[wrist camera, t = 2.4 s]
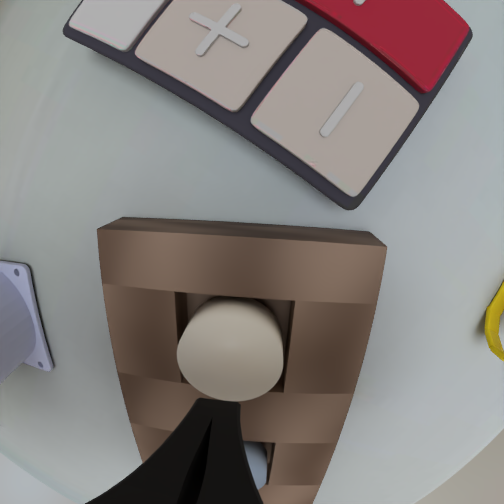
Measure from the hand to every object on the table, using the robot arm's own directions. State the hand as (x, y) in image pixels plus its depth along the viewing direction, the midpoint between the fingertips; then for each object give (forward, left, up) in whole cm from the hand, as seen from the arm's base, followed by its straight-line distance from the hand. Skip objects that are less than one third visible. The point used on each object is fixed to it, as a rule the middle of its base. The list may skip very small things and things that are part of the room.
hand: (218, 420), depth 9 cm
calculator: (+1, +15, -8) cm, 17 cm away
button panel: (0, -9, -7) cm, 11 cm away
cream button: (0, 0, -5) cm, 5 cm away
